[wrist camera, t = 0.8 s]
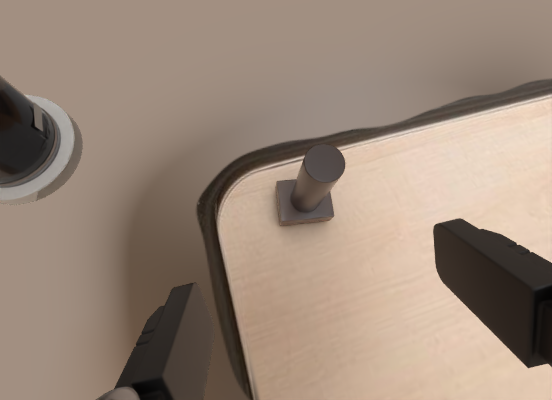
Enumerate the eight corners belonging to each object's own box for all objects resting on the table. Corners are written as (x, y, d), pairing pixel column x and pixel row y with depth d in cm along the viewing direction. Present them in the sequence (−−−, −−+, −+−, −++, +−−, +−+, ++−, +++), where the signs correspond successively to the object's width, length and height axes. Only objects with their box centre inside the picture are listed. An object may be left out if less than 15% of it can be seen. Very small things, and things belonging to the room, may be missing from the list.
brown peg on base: (279, 227, 31) (291, 194, 19) (275, 189, 32) (284, 138, 20) (327, 222, 31) (366, 187, 20) (321, 185, 32) (355, 132, 21)
